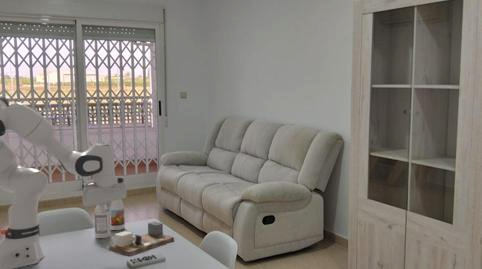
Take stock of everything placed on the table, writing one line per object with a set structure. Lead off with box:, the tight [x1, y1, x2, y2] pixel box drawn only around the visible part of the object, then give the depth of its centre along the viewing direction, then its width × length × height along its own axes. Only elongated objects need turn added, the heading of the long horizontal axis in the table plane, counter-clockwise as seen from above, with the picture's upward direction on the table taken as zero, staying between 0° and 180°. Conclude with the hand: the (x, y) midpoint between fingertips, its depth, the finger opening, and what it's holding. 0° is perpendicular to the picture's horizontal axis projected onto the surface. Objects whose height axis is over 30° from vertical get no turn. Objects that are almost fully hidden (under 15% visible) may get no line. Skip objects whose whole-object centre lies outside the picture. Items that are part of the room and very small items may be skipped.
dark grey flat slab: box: [134, 234, 144, 245], centre depth 207 cm, size 1×5×4 cm, turn 51°
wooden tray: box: [108, 233, 175, 257], centre depth 212 cm, size 26×14×2 cm, turn 141°
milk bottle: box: [109, 199, 126, 231], centre depth 236 cm, size 8×8×20 cm
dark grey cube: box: [147, 221, 164, 237], centre depth 222 cm, size 4×6×6 cm, turn 51°
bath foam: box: [93, 203, 111, 239], centre depth 224 cm, size 7×7×20 cm
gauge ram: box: [114, 230, 136, 247], centre depth 207 cm, size 8×8×5 cm
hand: (105, 212), depth 199 cm, fingers closed
